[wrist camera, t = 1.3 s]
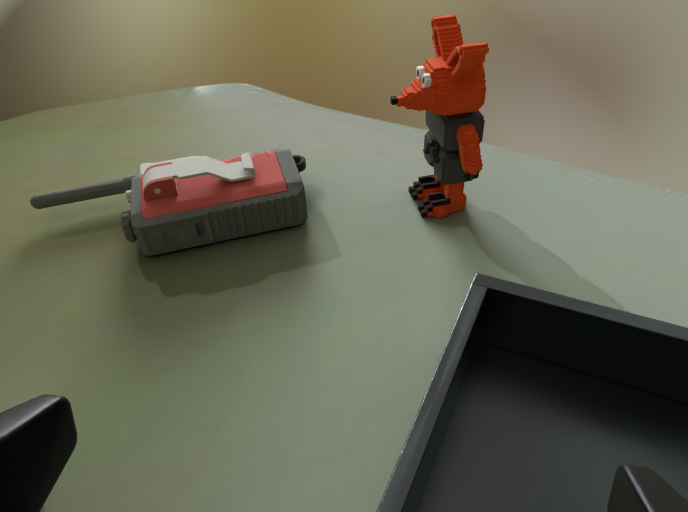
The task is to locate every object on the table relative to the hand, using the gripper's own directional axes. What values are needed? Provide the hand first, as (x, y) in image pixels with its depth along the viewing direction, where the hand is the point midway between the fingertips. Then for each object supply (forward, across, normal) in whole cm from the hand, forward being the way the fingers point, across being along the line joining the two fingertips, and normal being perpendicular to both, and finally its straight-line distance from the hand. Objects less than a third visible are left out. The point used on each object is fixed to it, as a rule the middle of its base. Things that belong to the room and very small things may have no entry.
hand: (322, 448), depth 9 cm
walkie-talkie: (+29, +17, +7) cm, 34 cm away
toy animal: (+32, -1, +6) cm, 32 cm away
